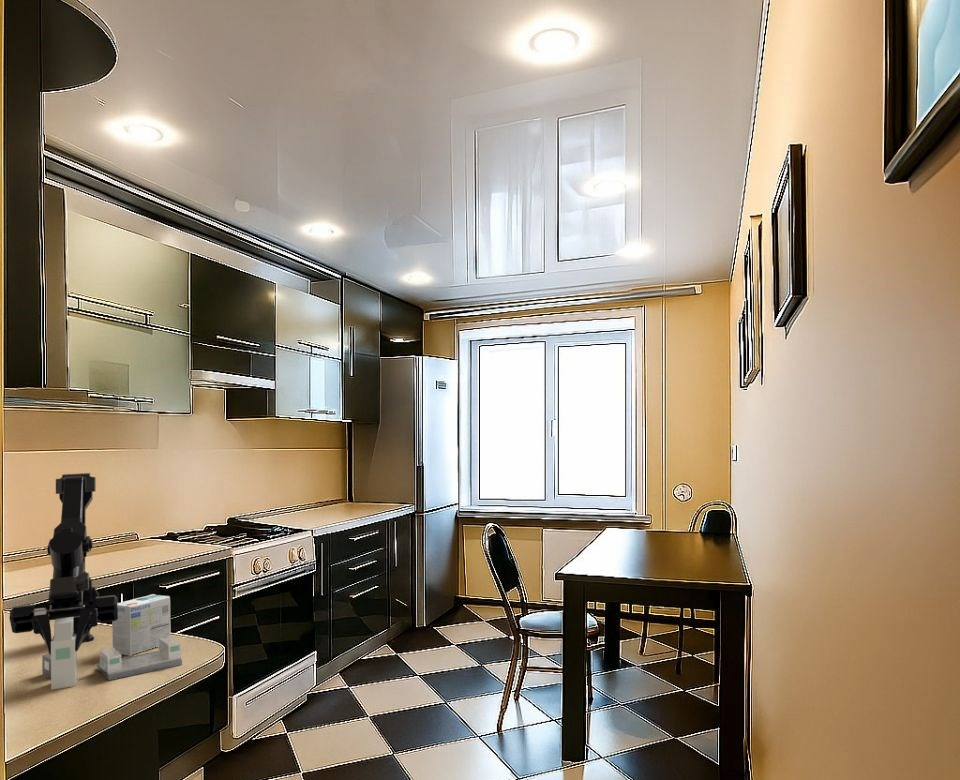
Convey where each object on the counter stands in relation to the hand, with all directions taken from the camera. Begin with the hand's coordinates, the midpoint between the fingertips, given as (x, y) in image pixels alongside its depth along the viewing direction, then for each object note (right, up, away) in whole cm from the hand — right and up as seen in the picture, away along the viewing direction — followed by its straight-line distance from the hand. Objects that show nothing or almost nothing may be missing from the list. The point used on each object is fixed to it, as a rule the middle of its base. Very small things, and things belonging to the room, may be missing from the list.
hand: (63, 651), depth 144 cm
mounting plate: (+10, -7, +11) cm, 16 cm away
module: (0, -7, +1) cm, 7 cm away
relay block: (-5, -7, +7) cm, 12 cm away
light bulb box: (+4, -8, +24) cm, 25 cm away
